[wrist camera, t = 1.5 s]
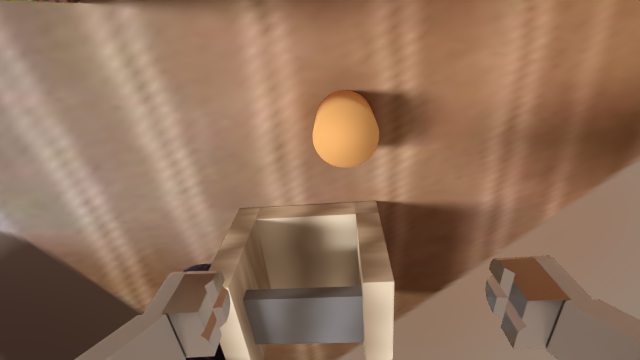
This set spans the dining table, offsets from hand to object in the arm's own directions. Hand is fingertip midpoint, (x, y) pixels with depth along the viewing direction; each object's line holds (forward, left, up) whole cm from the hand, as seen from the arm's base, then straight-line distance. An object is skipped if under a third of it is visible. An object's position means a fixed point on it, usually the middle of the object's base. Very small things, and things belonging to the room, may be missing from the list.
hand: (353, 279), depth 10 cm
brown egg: (0, 0, -18) cm, 18 cm away
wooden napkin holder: (+4, +14, -18) cm, 23 cm away
